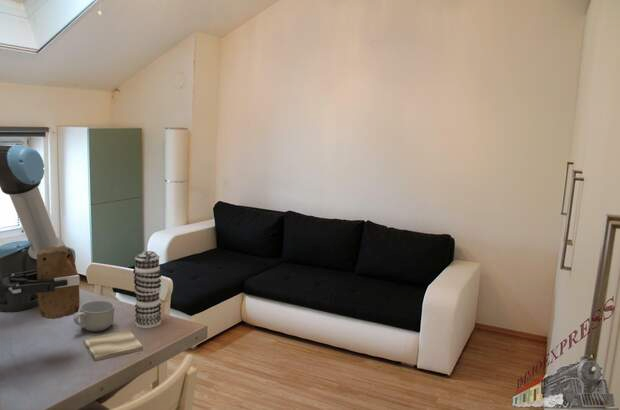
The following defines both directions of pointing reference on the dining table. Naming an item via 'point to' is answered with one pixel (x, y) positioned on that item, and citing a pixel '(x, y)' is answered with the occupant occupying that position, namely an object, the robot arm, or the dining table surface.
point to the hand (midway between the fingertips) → (75, 275)
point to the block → (49, 267)
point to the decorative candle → (147, 289)
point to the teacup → (95, 315)
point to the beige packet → (112, 345)
